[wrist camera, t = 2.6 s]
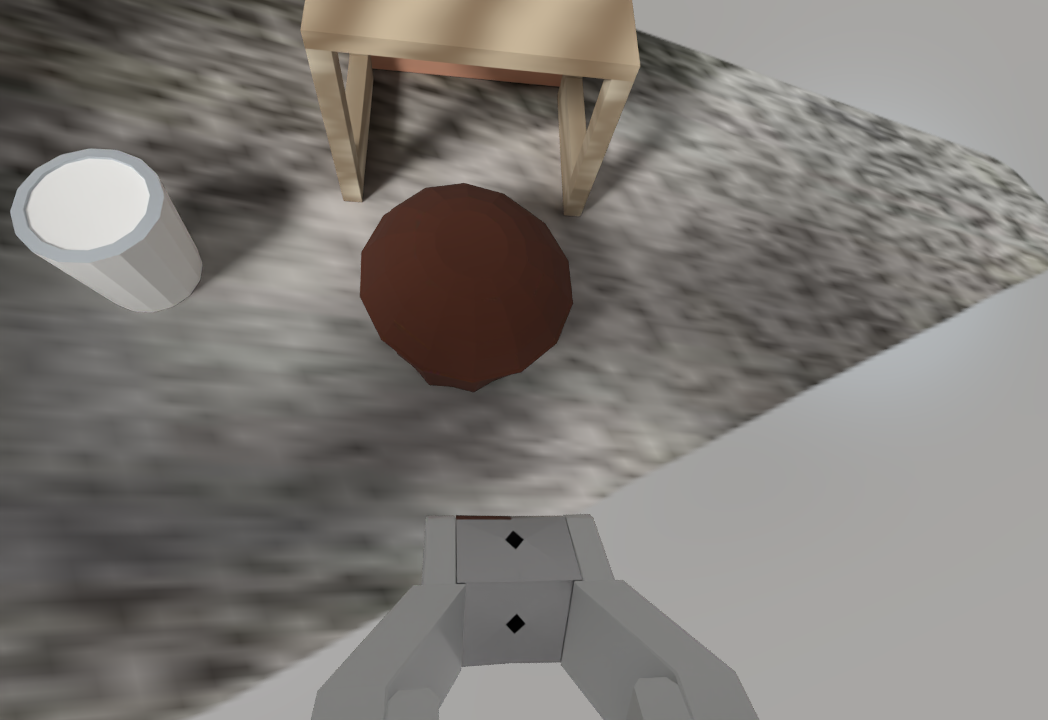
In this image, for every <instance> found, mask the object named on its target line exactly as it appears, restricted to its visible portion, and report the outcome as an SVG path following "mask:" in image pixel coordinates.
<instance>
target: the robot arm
mask: <svg viewBox="0 0 1048 720" xmlns="http://www.w3.org/2000/svg"><path fill="white" fill-rule="evenodd" d="M552 662H561V666H562V667H563V668H564V669H565V671H566V672H567V673H568V675H569V676H570V677H571V679H572V680H573V681H574V682H575V684H576V685H577V686H578V688H579V689H580V690H581V691H582V693H583V694H584V695H585V696H586V698H587V699H588V700H589V702H590V703H591V704H592V705H593V707H594V708H595V709H596V711H597V712H598V713H599V714H600V716H601V717H602V718H603V720H759V718H758V717H757V714H756V712H755V710H754V708H753V706H752V704H751V702H750V700H749V698H748V696H747V694H746V692H745V690H744V688H743V686H742V684H741V682H740V680H739V678H738V676H737V674H736V672H735V671H734V670H733V669H732V668H730V667H729V666H728V665H727V664H725V663H724V662H723V661H722V660H720V659H719V658H718V657H717V656H715V655H714V654H713V653H712V652H711V651H709V650H708V649H707V648H706V647H704V646H703V645H702V644H701V643H700V642H698V641H697V640H696V639H695V638H693V637H692V636H691V635H690V634H688V633H687V632H686V631H685V630H684V629H682V628H681V627H680V626H679V625H677V624H676V623H675V622H674V621H672V620H671V619H670V618H669V617H668V616H666V615H665V614H664V613H663V612H662V611H660V610H659V609H658V608H657V607H655V606H654V605H653V604H652V603H650V602H649V601H648V600H647V599H646V598H644V597H643V596H642V595H640V594H639V593H638V592H637V591H636V590H634V589H633V588H632V587H631V586H629V585H628V584H627V583H626V582H625V581H623V580H615V579H614V576H613V573H612V571H611V568H610V565H609V562H608V559H607V556H606V553H605V550H604V548H603V545H602V542H601V539H600V536H599V533H598V530H597V527H596V524H595V521H594V519H593V517H592V516H591V515H590V514H575V515H563V516H464V515H456V519H455V516H427V518H426V522H425V537H424V553H423V568H422V584H421V585H413V586H412V587H411V588H410V589H409V590H408V591H407V592H406V593H405V594H404V596H403V597H402V598H401V599H400V600H399V601H398V602H397V603H396V605H395V606H394V607H393V608H392V609H391V610H390V611H389V612H388V613H387V615H386V616H385V617H384V618H383V619H382V620H381V621H380V622H379V623H378V625H377V626H376V627H375V628H374V629H373V630H372V631H371V632H370V634H369V635H368V636H367V637H366V638H365V639H364V640H363V641H362V642H361V643H360V645H359V646H358V647H357V648H356V649H355V650H354V651H353V652H352V654H351V655H350V656H349V657H348V658H347V659H346V660H345V661H344V662H343V664H342V665H341V666H340V667H339V668H338V669H337V670H336V671H335V673H334V674H333V675H332V676H331V677H330V678H329V679H328V680H327V681H326V682H325V684H324V685H323V686H322V687H321V688H320V689H319V690H318V692H317V696H316V700H315V704H314V709H313V713H312V717H311V720H439V708H440V706H441V704H442V703H443V701H444V699H445V697H446V696H447V694H448V692H449V691H450V689H451V687H452V685H453V684H454V682H455V680H456V678H457V677H458V675H459V673H460V671H461V667H466V666H479V665H491V664H492V665H493V664H505V663H552Z"/></svg>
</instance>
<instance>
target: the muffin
mask: <svg viewBox="0 0 1048 720" xmlns="http://www.w3.org/2000/svg"><path fill="white" fill-rule="evenodd" d="M360 298H361V300H362V302H363V304H364V306H365V308H366V310H367V312H368V314H369V316H370V318H371V320H372V322H373V324H374V326H375V328H376V330H377V332H378V334H379V336H380V338H381V340H382V341H384V342H385V343H386V344H388V345H389V346H390V347H392V348H393V349H394V350H395V351H396V352H397V354H398V355H399V356H401V357H402V358H403V359H404V360H406V361H407V362H408V363H409V364H411V365H412V366H413V367H414V368H415V369H416V370H417V371H418V372H419V373H420V375H421V376H422V377H423V378H424V379H425V381H426V382H427V383H428V384H429V385H437V386H450V387H455V388H459V389H463V390H467V391H471V392H475V391H477V390H478V389H480V388H482V387H483V386H485V385H487V384H489V383H490V382H492V381H494V380H497V379H500V378H503V377H505V376H508V375H511V374H515V373H520V372H522V371H523V370H524V369H526V368H527V367H528V366H529V365H531V364H532V363H533V362H534V361H536V360H537V359H538V358H539V357H540V356H542V355H543V354H544V353H545V352H547V351H548V350H549V349H550V348H552V347H553V346H554V345H555V344H556V343H557V341H558V339H559V336H560V334H561V332H562V329H563V327H564V324H565V322H566V319H567V317H568V314H569V312H570V309H571V307H572V304H573V299H572V290H571V281H570V272H569V262H568V260H567V258H566V256H565V255H564V253H563V251H562V250H561V248H560V247H559V245H558V243H557V242H556V240H555V238H554V237H553V235H552V234H551V232H550V230H549V229H548V227H547V226H546V224H545V223H544V222H542V221H541V220H540V219H538V218H537V217H535V216H534V215H533V214H531V213H530V212H528V211H527V210H526V209H524V208H523V207H521V206H520V205H519V204H517V203H516V202H514V201H513V200H512V199H510V198H509V197H507V196H506V195H505V194H502V193H499V192H495V191H492V190H488V189H484V188H481V187H477V186H473V185H470V184H466V183H461V184H453V185H445V186H437V187H429V188H424V189H423V190H421V191H420V192H418V193H417V194H415V195H413V196H412V197H410V198H409V199H407V200H406V201H404V202H402V203H401V204H399V205H398V206H396V207H394V208H393V209H392V210H391V211H390V212H388V213H386V214H385V215H384V216H383V217H382V219H381V221H380V222H379V224H378V226H377V227H376V229H375V231H374V232H373V234H372V235H371V237H370V239H369V240H368V242H367V244H366V245H365V247H364V249H363V250H362V253H361V282H360Z"/></svg>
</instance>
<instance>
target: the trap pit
mask: <svg viewBox="0 0 1048 720" xmlns="http://www.w3.org/2000/svg"><path fill="white" fill-rule="evenodd" d="M371 63H372V68H373V69H384V70H394V71H404V72H414V73H424V74H434V75H445V76H455V77H465V78H475V79H485V80H496V81H506V82H516V83H526V84H536V85H547V86H557V87H560V83H561V79H562V74H552V73H542V72H532V71H522V70H512V69H503V68H493V67H483V66H473V65H463V64H453V63H443V62H433V61H424V60H414V59H404V58H394V57H384V56H374V55H371Z"/></svg>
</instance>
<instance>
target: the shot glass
mask: <svg viewBox="0 0 1048 720" xmlns="http://www.w3.org/2000/svg"><path fill="white" fill-rule="evenodd" d="M10 213H11V218H12V222H13V226H14V231H15V234H16V235H17V236H18V237H19V239H20V240H21V241H22V242H23V243H24V244H25V245H26V246H27V247H28V248H29V249H30V250H31V251H32V252H33V253H35V254H36V255H38V256H40V257H41V258H43V259H44V260H46V261H48V262H49V263H51V264H52V265H54V266H56V267H57V268H59V269H60V270H62V271H64V272H65V273H67V274H69V275H70V276H72V277H73V278H75V279H77V280H78V281H80V282H81V283H83V284H85V285H86V286H88V287H89V288H91V289H93V290H94V291H96V292H97V293H99V294H101V295H102V296H104V297H105V298H107V299H109V300H110V301H112V302H113V303H115V304H117V305H119V306H121V307H124V308H126V309H129V310H131V311H134V312H157V311H160V310H164V309H167V308H170V307H173V306H175V305H177V304H178V303H180V302H181V301H182V300H184V299H185V298H187V297H188V296H189V295H191V293H192V292H193V290H194V289H195V287H196V286H197V284H198V283H199V281H200V279H201V273H202V267H203V264H202V261H201V258H200V255H199V252H198V249H197V247H196V245H195V244H194V242H193V240H192V238H191V236H190V234H189V232H188V231H187V229H186V227H185V225H184V223H183V221H182V219H181V218H180V216H179V214H178V212H177V210H176V208H175V206H174V205H173V203H172V201H171V199H170V197H169V195H168V193H167V192H166V190H165V188H164V186H163V184H162V182H161V180H160V179H159V177H158V175H157V174H156V173H155V172H154V171H153V170H152V169H151V168H150V167H149V166H148V165H147V164H146V163H145V162H144V161H143V160H141V159H139V158H137V157H134V156H132V155H129V154H126V153H124V152H121V151H119V150H109V149H90V148H89V149H85V150H80V151H76V152H72V153H67V154H63V155H60V156H58V157H56V158H54V159H52V160H51V161H49V162H47V163H45V164H44V165H42V166H40V167H38V168H36V169H35V170H34V171H33V172H32V173H31V174H30V176H29V177H28V178H27V179H26V180H25V181H24V182H23V183H22V184H21V186H20V187H19V188H18V189H17V192H16V195H15V198H14V201H13V205H12V208H11V211H10Z"/></svg>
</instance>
